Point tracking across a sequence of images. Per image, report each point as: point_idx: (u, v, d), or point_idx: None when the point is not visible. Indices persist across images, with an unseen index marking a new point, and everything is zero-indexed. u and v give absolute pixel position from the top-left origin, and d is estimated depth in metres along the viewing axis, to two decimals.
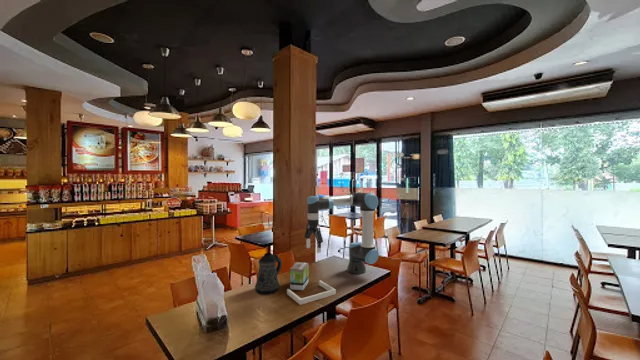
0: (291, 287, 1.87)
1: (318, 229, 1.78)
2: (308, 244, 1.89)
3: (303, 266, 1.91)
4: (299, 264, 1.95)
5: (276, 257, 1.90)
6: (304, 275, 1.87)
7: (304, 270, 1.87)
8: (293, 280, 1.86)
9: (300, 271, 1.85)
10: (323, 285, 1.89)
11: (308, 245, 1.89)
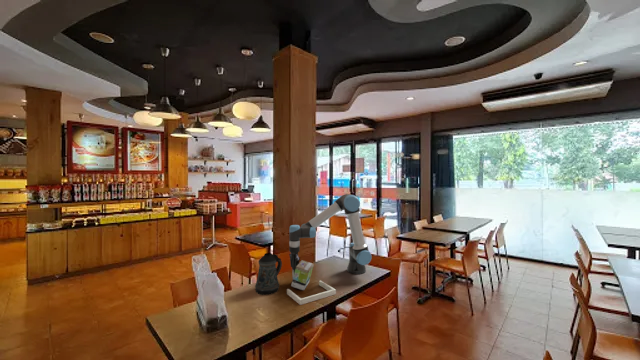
0: (292, 284, 1.86)
1: (298, 259, 1.94)
2: None
3: (309, 267, 1.89)
4: (305, 263, 1.93)
5: (276, 257, 1.90)
6: (308, 276, 1.86)
7: (309, 271, 1.86)
8: (296, 279, 1.85)
9: (305, 271, 1.84)
10: (323, 285, 1.89)
11: None
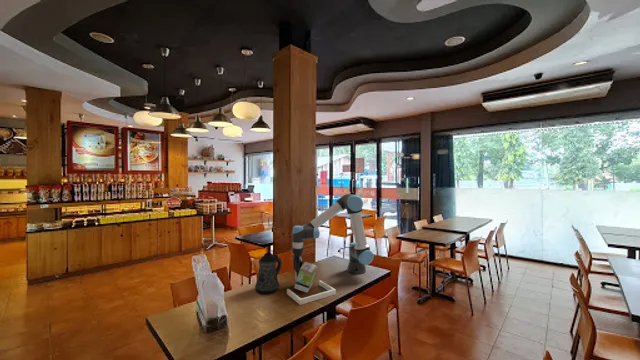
0: (296, 286, 1.82)
1: (301, 261, 1.90)
2: None
3: (313, 269, 1.86)
4: (308, 265, 1.90)
5: (276, 257, 1.90)
6: (312, 278, 1.82)
7: (313, 273, 1.82)
8: (300, 281, 1.81)
9: (309, 274, 1.80)
10: (323, 285, 1.89)
11: None
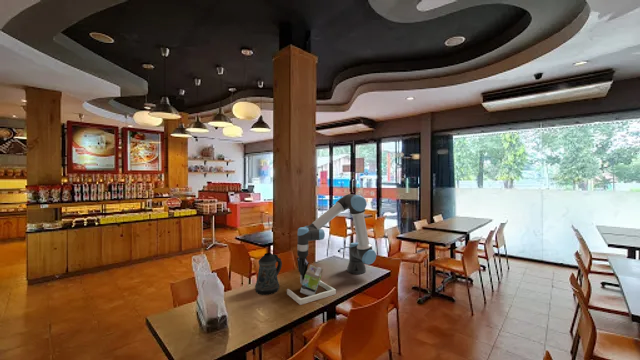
0: (301, 290, 1.75)
1: (306, 264, 1.83)
2: None
3: (319, 272, 1.79)
4: (314, 268, 1.83)
5: (276, 257, 1.90)
6: (318, 282, 1.76)
7: (320, 277, 1.76)
8: (306, 285, 1.75)
9: (316, 277, 1.74)
10: (323, 285, 1.89)
11: None
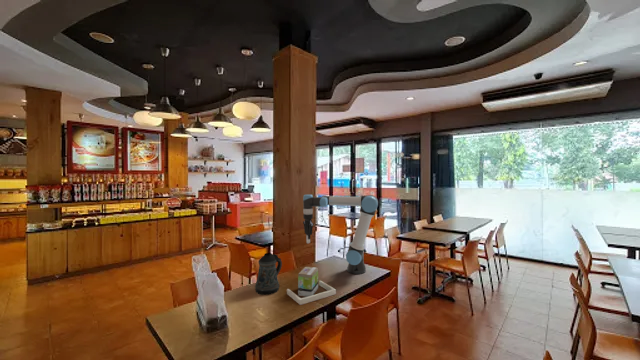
0: (299, 293, 1.77)
1: (311, 225, 2.12)
2: None
3: (312, 271, 1.81)
4: (308, 269, 1.85)
5: (276, 257, 1.90)
6: (313, 281, 1.77)
7: (313, 276, 1.77)
8: (301, 286, 1.76)
9: (308, 277, 1.75)
10: (323, 285, 1.89)
11: None
